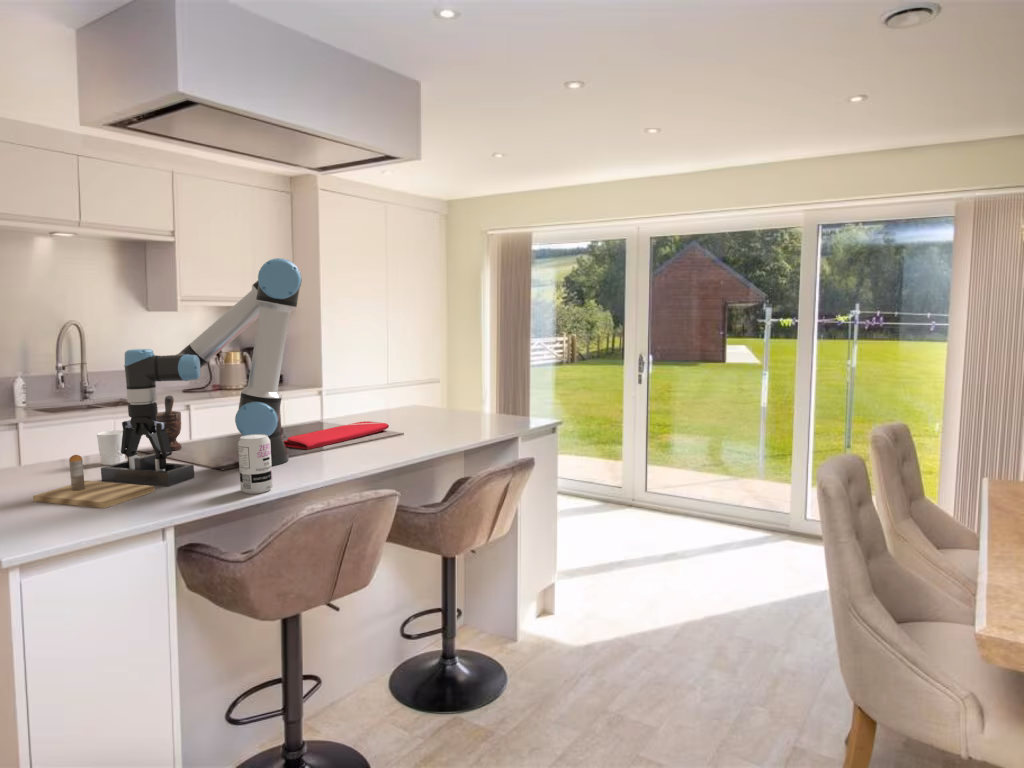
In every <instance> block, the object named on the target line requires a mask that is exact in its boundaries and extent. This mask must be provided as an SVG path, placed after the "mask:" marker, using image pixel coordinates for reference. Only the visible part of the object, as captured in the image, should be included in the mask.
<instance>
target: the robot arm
mask: <svg viewBox="0 0 1024 768" xmlns="http://www.w3.org/2000/svg"><path fill="white" fill-rule="evenodd" d="M301 286H302V275H301V271H300V269H299V268H298V266H297V265H296V264H295V263H294V262H293V261H291V260H289V259H285V258H277V257H276V258H272V259H269V260H268V261H266V262H265V263H263V265H262V266H261V267H260V269H259V270H258V274H257V280H256V281H255V282H254V283H253V284H252V285H251V290H250V291H249V292H248V293H246V294H245V296H243V297H242V298H241V299H240V300H239V301H238V302H236V303H235V304H234V305H233V306H232V307H230V308H229V309H228V310H227V311H226V312H225V313H224V314H223V315H222V316H220V317H219V318H218V319H217V320H216V321H214V323H212V324H210V326H209V327H208V328H206V329H205V330H204V331H203V332H202V333H201V334H199V335H198V336H197V337H196V338H195V339H193V340H192V342H190V343H189V344H188V345H186V347H184V348H183V349H181V351H180V352H178V353H176V354H171V355H170V354H169V355H157V354H156V355H155V353H154V350H153V349H151V348H134V349H128V350H126V351H125V352H124V366H123V368H124V372H125V383H126V386H125V388H126V401H127V403H129V404H128V405H127V412H128V414H127V415H128V417H130V419H129V420H125V421H122V422H121V426H122V431H123V435H122V445H121V454H125V457H127V461H128V466H129V467H130V469H135V462H134V459H135V458H139V455H138V453H137V451H138V448H139V446H140V442H141V438H142V437H143V435H144V436H145V437H146V438H147V439H148V440H149V442H150V445H151V447H152V448H153V452H154V454H156V456H157V458H156V459H155V466H156V470H157V471H165V468H166V463H167V457H169V456H171V455H172V453H173V451H171V448H170V444H169V440H168V436H167V432H166V422H157V419H156V415H157V414H158V413H159V410H158V403H157V402H156V401H157V384H156V382H170V381H171V382H177V381H178V382H179V381H180V382H181V381H183V382H184V381H185V382H188V381H196V380H198V379H199V378H200V377H201V368H203V367H204V366H205V365H207V363H208V362H210V360H212V359H213V358H214V357H215V356H217V354H219V353H220V352H221V351H222V350H223V349H224V348H226V346H228V345H229V344H230V343H231V342H233V340H235V339H236V338H237V337H238V336H239V335H240V334H242V333H243V332H244V331H246V329H247V328H248V327H250V326H251V325H252V324H253V323H254V322H255V321H256V320H257V324H256V325H257V326H256V331H255V338H254V344H253V351H252V357H251V363H250V368H249V369H250V370H249V375H248V382H247V386H246V387H245V388H243V389H242V390H241V391H240V397H239V398H240V399H239V404H238V409H237V412H236V413H235V417H234V422H235V425H236V429H237V430H238V432H239V433H240V434H241V435H242V436H245V435H252V434H265V435H268V438H269V439H270V445H271V464H272V466H276V465H277V466H278V465H281V464H284V463H287V462H288V461H289V451H288V450H287V446H285V444H284V441H285V440H284V439H283V435H282V417H281V416H282V415H281V404H282V398H283V397H282V395H281V394H280V392H279V383H280V376H281V373H282V365H283V359H284V353H285V347H286V341H287V336H288V334H287V333H288V329H289V322H290V317H291V313H292V312H293V311H294V310H296V309H297V306H298V301H299V294H300V289H301Z"/></svg>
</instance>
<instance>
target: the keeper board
mask: <svg viewBox="0 0 1024 768" xmlns="http://www.w3.org/2000/svg"><path fill="white" fill-rule="evenodd" d="M68 461H69V462H68V463H69V473H70V485H66V486H62V487H59V488H56V489H52V490H48V491H44V492H41V493H37V494H34V495H32V499H33V500H32V501H33V502H36V501H38V502H39V503H49V504H60V505H70V506H80V507H89V508H90V507H92V508H100V509H106V508H108V507H109V508H110V507H113V506H115V505H118V504H121V503H124V502H127V501H130V500H133V499H134V500H135V499H137V498H139V497H143V496H145V495H148V494H151V493H154V492H156V491H155V490H156V489H155V486H153V485H141V484H128V483H116V482H104V481H97V480H96V481H95V480H85V476H84V463H83V457H82V456H81V455H79V454H73V455H71V456H70V457H69V460H68Z"/></svg>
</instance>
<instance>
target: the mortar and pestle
mask: <svg viewBox="0 0 1024 768" xmlns="http://www.w3.org/2000/svg"><path fill="white" fill-rule="evenodd" d="M174 401H175V399H174V396H172V395H170V394H169V395H166V396H165V398H164V409H165V411H160V412H159V411H158V414H157V415H156V419H157V422H166V432H167V436H168V440H169V444H170V448H171V452H173V450H174V451H179V450H180V449H182V444H181V443H180V442H178V441H177V438H178V436H179V435H180V434H181V430H182V412H181V411H177V410H173V406H174Z"/></svg>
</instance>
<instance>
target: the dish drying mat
mask: <svg viewBox="0 0 1024 768" xmlns="http://www.w3.org/2000/svg"><path fill="white" fill-rule="evenodd" d="M389 426H390V424H388V423H387V422H378V421H359V422H358V421H357V422H354V423H349V424H348V423H347V424H344V425H340V426H339V425H338V426H334V427H329V428H326V429H325V428H324V429H321V430H316V431H311V432H307V433H303V434H302V433H301V434H295V435H293V436H289V437H288V438H287V439H286V440H283V441H284V444H285V447H286V448H294V449H300V450H301V449H302V450H306V451H307V450H312V449H316V448H320V447H326V446H329V445H333V444H338V443H342V442H345V441H346V442H347V441H349V440H350V441H351V440H354V439H357V438H361V437H364V436H368V435H371V434H377V433H379V432H382V431H385V430H386V429H388V428H389Z"/></svg>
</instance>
